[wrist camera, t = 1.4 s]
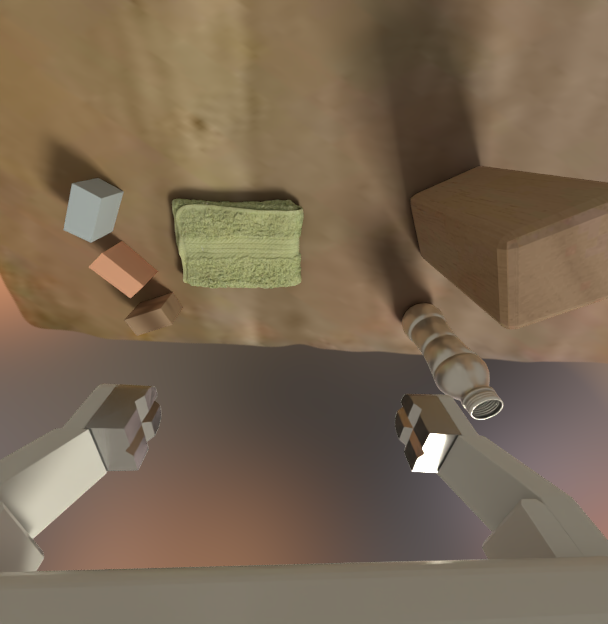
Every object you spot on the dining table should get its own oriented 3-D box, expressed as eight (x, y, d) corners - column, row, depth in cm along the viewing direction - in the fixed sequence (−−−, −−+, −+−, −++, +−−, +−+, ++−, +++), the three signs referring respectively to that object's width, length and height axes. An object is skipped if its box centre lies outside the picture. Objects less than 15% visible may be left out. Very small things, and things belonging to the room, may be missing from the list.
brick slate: (112, 231, 38) (90, 242, 34) (89, 219, 37) (63, 229, 33) (123, 191, 35) (101, 198, 31) (98, 177, 34) (72, 183, 30)
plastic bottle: (443, 310, 48) (529, 402, 31) (414, 335, 51) (478, 433, 34) (419, 291, 46) (497, 380, 29) (390, 319, 48) (445, 416, 31)
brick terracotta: (109, 253, 40) (88, 267, 35) (122, 240, 39) (102, 253, 34) (146, 282, 42) (130, 298, 38) (158, 271, 41) (143, 286, 37)
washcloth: (170, 195, 36) (161, 199, 34) (303, 198, 37) (304, 202, 35) (189, 284, 43) (182, 293, 40) (301, 284, 44) (301, 294, 42)
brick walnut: (150, 317, 46) (136, 335, 41) (139, 302, 44) (124, 320, 40) (183, 307, 45) (172, 324, 41) (173, 292, 43) (160, 308, 39)
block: (419, 258, 42) (507, 336, 26) (406, 195, 37) (504, 241, 21) (485, 232, 41) (626, 297, 24) (481, 162, 36) (656, 182, 19)
